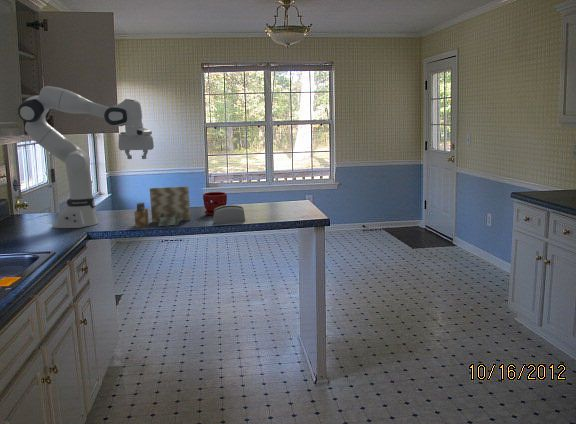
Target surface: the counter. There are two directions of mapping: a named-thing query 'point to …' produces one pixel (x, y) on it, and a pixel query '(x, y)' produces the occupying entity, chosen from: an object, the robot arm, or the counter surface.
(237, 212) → the grey arched block
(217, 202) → the plant pot
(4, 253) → the counter surface
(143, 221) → the brown bottle
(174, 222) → the patterned box
